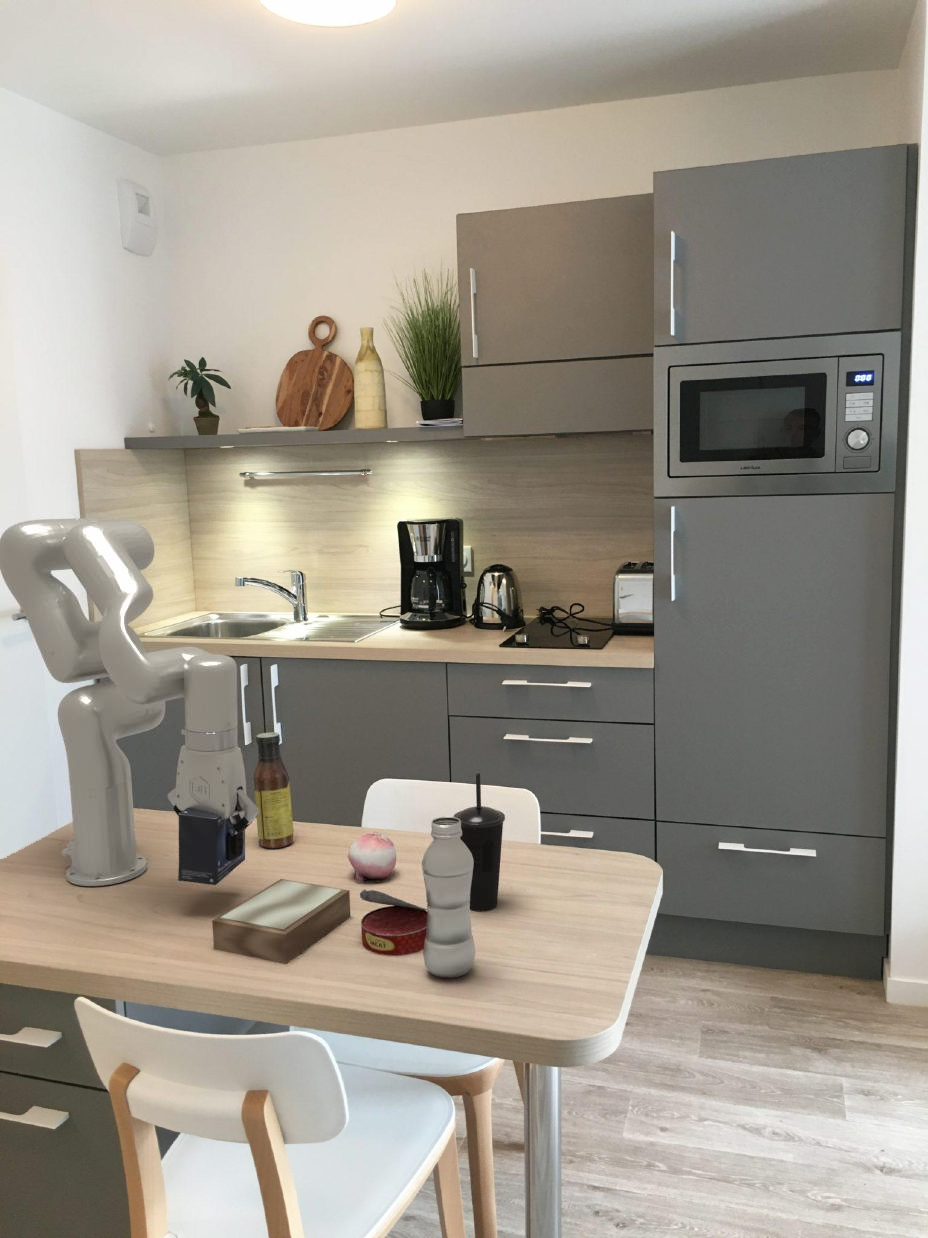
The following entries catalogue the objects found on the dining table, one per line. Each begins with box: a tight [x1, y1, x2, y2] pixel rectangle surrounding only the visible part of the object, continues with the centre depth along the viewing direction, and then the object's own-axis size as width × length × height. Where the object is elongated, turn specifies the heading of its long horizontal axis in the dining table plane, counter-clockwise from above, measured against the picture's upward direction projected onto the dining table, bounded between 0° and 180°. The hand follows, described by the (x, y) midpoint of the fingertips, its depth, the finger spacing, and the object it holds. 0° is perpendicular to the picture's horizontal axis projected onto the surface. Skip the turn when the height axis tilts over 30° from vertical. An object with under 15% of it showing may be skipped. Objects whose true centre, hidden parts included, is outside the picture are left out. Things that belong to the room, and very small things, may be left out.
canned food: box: [359, 888, 428, 957], centre depth 138 cm, size 11×10×10 cm
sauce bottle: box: [253, 731, 295, 849], centre depth 177 cm, size 7×6×20 cm
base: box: [211, 878, 352, 964], centre depth 141 cm, size 12×16×4 cm
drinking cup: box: [452, 773, 506, 912], centre depth 148 cm, size 8×8×20 cm
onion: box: [347, 831, 397, 884], centre depth 161 cm, size 8×8×7 cm
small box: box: [177, 807, 246, 886], centre depth 151 cm, size 11×6×10 cm, turn 168°
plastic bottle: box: [421, 816, 476, 978], centre depth 127 cm, size 6×7×20 cm
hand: (213, 852), depth 151 cm, fingers closed on small box, 7 cm apart
